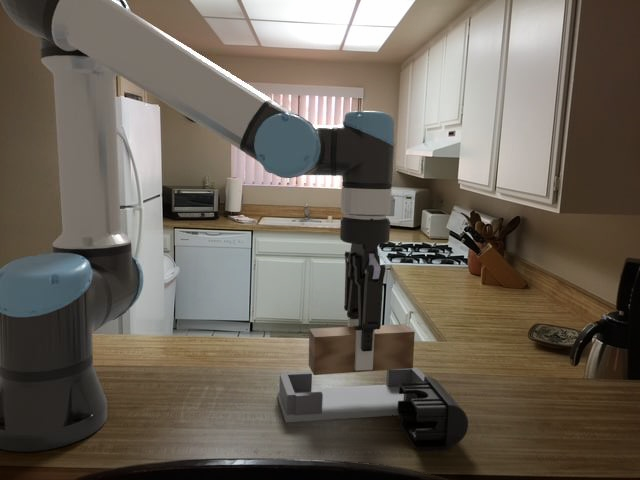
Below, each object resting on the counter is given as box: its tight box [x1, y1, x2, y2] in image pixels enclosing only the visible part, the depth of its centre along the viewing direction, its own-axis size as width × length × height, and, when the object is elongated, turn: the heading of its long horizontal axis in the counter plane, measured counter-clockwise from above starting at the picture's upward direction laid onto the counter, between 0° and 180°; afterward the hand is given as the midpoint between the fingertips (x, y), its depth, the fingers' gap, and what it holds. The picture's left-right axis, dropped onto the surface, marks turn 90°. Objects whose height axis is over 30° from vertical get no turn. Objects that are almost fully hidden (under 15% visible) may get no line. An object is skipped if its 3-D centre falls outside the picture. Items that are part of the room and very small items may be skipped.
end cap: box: [397, 375, 469, 452], centre depth 76 cm, size 10×7×7 cm
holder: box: [277, 367, 426, 423], centre depth 85 cm, size 24×9×4 cm, turn 102°
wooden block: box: [308, 323, 416, 376], centre depth 84 cm, size 16×4×6 cm, turn 103°
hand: (359, 363), depth 84 cm, fingers closed on wooden block, 4 cm apart
